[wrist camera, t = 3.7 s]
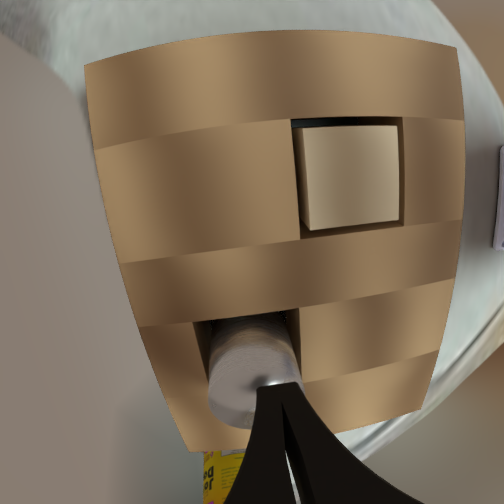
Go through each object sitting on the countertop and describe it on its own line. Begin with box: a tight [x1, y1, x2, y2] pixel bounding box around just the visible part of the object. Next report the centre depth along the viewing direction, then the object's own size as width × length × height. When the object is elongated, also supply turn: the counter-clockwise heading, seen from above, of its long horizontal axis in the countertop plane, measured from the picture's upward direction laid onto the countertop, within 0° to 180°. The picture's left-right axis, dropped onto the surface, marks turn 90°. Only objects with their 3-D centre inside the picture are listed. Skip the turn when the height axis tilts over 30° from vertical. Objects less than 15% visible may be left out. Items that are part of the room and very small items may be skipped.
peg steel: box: [208, 311, 305, 430], centre depth 15 cm, size 4×4×5 cm
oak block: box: [84, 30, 465, 452], centre depth 16 cm, size 16×22×5 cm
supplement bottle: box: [203, 448, 246, 504], centre depth 19 cm, size 7×7×13 cm
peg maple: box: [291, 125, 399, 230], centre depth 14 cm, size 4×4×5 cm
